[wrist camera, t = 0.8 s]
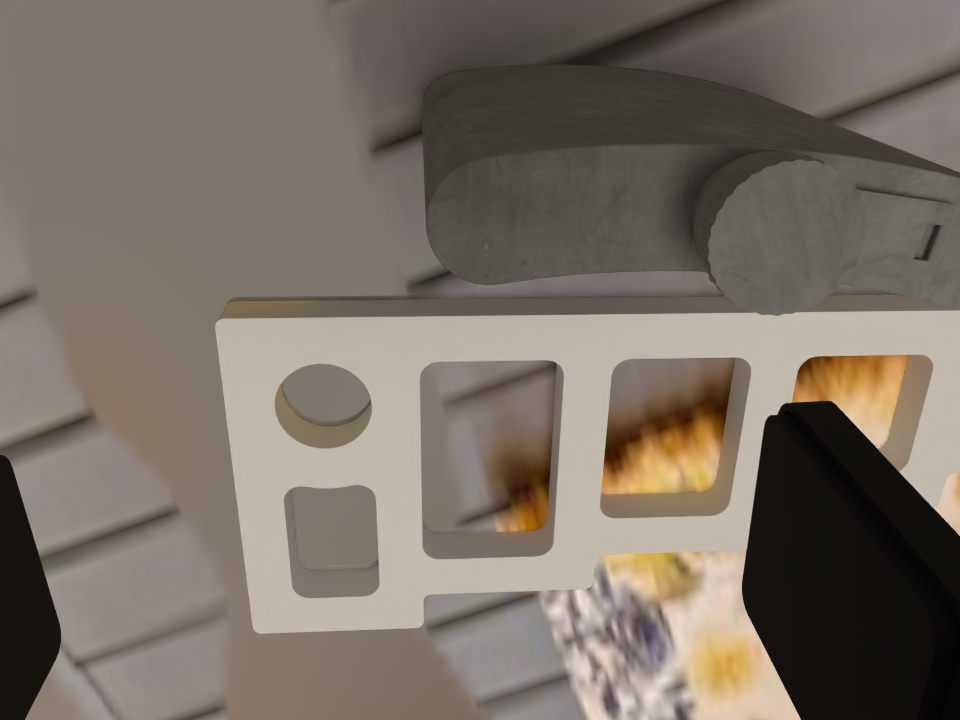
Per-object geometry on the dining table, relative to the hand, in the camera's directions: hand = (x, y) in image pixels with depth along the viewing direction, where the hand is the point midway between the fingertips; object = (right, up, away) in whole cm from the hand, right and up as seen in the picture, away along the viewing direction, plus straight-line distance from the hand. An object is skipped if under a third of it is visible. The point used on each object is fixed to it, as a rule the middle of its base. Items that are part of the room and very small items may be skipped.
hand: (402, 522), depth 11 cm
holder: (+11, -3, +35) cm, 37 cm away
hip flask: (+6, +13, +26) cm, 30 cm away
